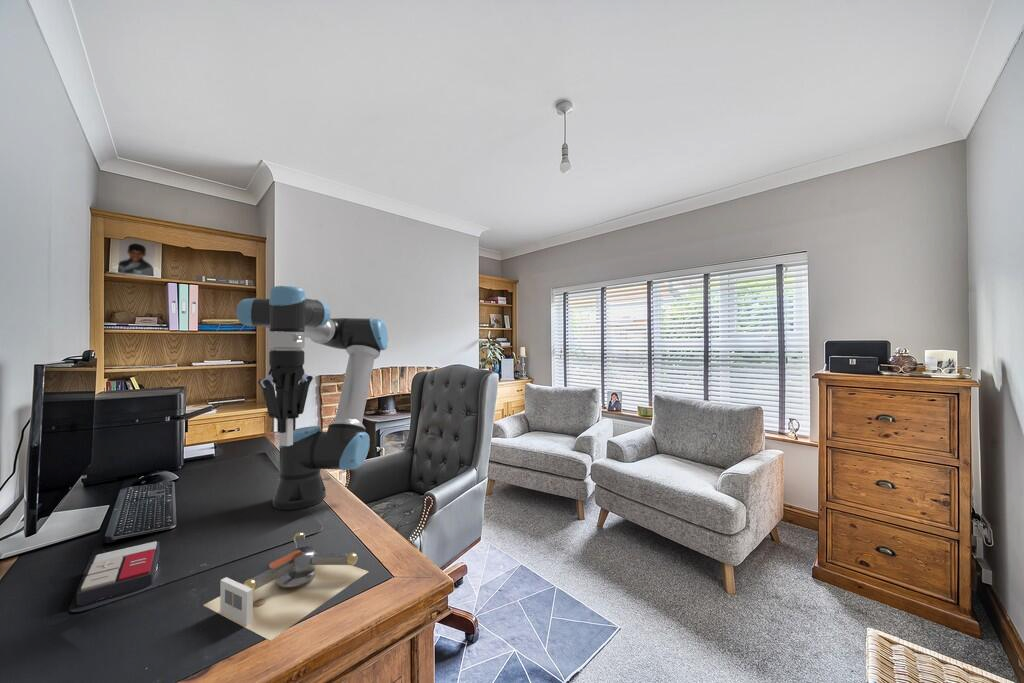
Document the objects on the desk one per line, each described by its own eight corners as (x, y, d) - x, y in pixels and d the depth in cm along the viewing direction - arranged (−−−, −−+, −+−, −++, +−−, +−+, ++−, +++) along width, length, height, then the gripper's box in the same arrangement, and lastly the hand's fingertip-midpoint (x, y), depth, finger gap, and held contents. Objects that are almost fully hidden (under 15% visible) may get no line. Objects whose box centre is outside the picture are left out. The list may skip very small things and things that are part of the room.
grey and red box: (75, 590, 75) (93, 552, 87) (76, 611, 76) (94, 571, 87) (152, 570, 82) (159, 537, 94) (152, 590, 82) (159, 555, 94)
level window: (226, 608, 73) (226, 576, 73) (253, 622, 70) (253, 588, 70) (219, 612, 72) (219, 580, 72) (246, 626, 69) (246, 592, 69)
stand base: (306, 555, 94) (306, 548, 94) (368, 578, 86) (368, 569, 86) (202, 613, 74) (203, 603, 74) (270, 649, 66) (270, 638, 66)
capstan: (246, 562, 88) (247, 537, 88) (345, 539, 99) (345, 516, 99) (241, 610, 72) (241, 580, 72) (358, 577, 83) (358, 550, 83)
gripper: (271, 350, 89) (270, 453, 89) (320, 349, 100) (319, 440, 101) (250, 349, 92) (249, 449, 92) (300, 348, 104) (300, 437, 104)
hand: (286, 444), depth 96 cm, fingers closed
